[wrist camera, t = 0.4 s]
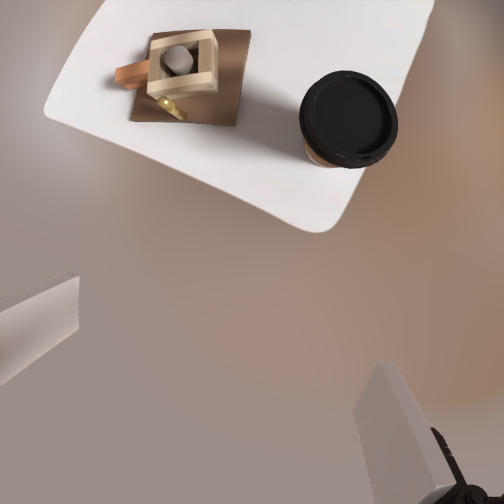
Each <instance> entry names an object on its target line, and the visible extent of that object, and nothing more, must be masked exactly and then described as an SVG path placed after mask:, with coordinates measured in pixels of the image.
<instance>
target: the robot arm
mask: <svg viewBox="0 0 504 504" xmlns="http://www.w3.org/2000/svg"><path fill="white" fill-rule="evenodd" d="M78 329H79V275H77V274H74V273H72V272H70V271H65V272H63V273H60V274H58V275H56V276H53V277H51V278H48V279H46V280H43V281H41V282H39V283H36V284H34V285H32V286H29V287H27V288H25V289H22V290H20V291H18V292H15V293H13V294H11V295H8V296H6V297H4V298H2V299H0V386H1V385H3V384H4V383H5V382H7V381H8V380H9V379H10V378H12V377H13V376H15V375H16V374H17V373H19V372H20V371H21V370H23V369H24V368H25V367H27V366H28V365H29V364H31V363H32V362H33V361H35V360H36V359H37V358H39V357H40V356H42V355H43V354H44V353H46V352H47V351H49V350H50V349H51V348H53V347H54V346H55V345H57V344H58V343H60V342H61V341H62V340H64V339H65V338H67V337H68V336H70V335H71V334H72V333H74V332H75V331H77V330H78ZM353 412H354V417H355V420H356V424H357V428H358V432H359V436H360V440H361V444H362V448H363V452H364V457H365V461H366V465H367V470H368V474H369V479H370V483H371V488H372V493H373V497H374V502H375V504H504V494H503V495H502V496H501V497H488V496H487V493H486V492H485V491H484V490H483V489H482V488H480V487H479V486H476V485H467V484H466V481H465V480H464V477H463V475H462V473H461V471H460V469H459V467H458V465H457V463H456V461H455V459H454V457H453V456H452V453H451V451H450V449H449V448H448V445H447V444H446V442H445V440H444V438H443V436H442V435H441V434H440V433H439V432H438V431H437V430H436V429H435V428H430V427H429V425H428V423H427V421H426V419H425V417H424V416H423V414H422V412H421V410H420V408H419V406H418V404H417V402H416V401H415V399H414V397H413V395H412V393H411V392H410V390H409V388H408V386H407V384H406V383H405V381H404V379H403V377H402V376H401V374H400V372H399V370H398V369H397V367H396V365H395V363H394V362H389V361H383V360H378V362H377V364H376V366H375V368H374V370H373V372H372V374H371V376H370V378H369V380H368V382H367V384H366V386H365V388H364V390H363V391H362V393H361V395H360V397H359V399H358V400H357V402H356V404H355V406H354V408H353Z"/></svg>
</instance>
